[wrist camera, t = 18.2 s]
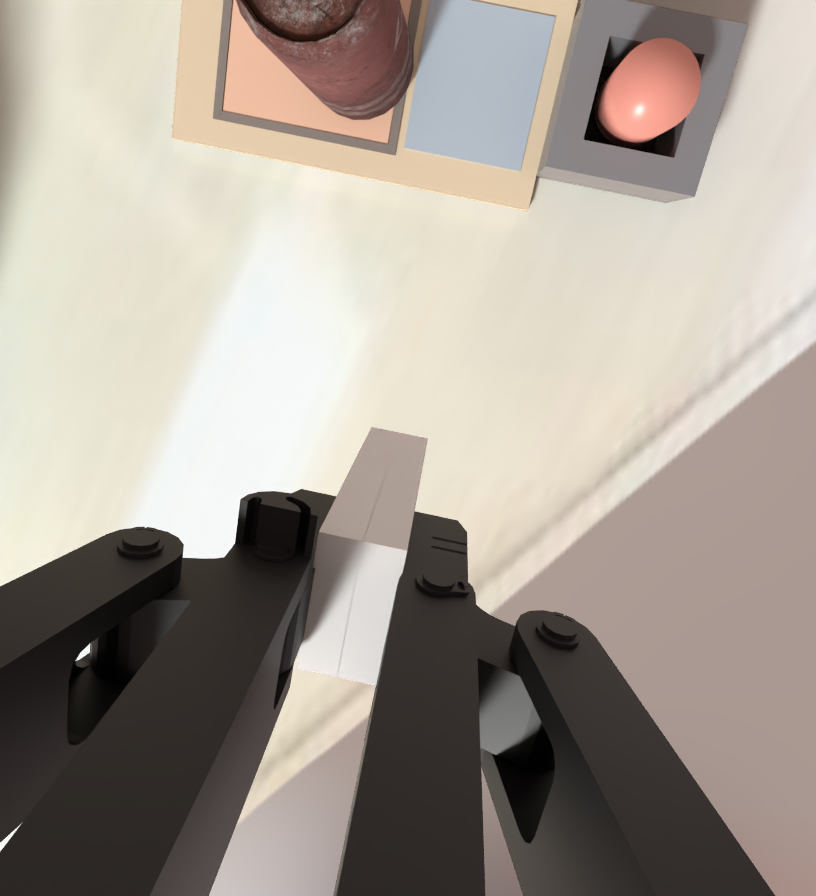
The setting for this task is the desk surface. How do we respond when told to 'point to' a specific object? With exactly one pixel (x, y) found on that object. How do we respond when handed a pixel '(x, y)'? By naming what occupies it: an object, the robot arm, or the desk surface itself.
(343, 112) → the can
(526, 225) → the desk surface
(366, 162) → the board
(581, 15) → the button housing
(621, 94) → the button
